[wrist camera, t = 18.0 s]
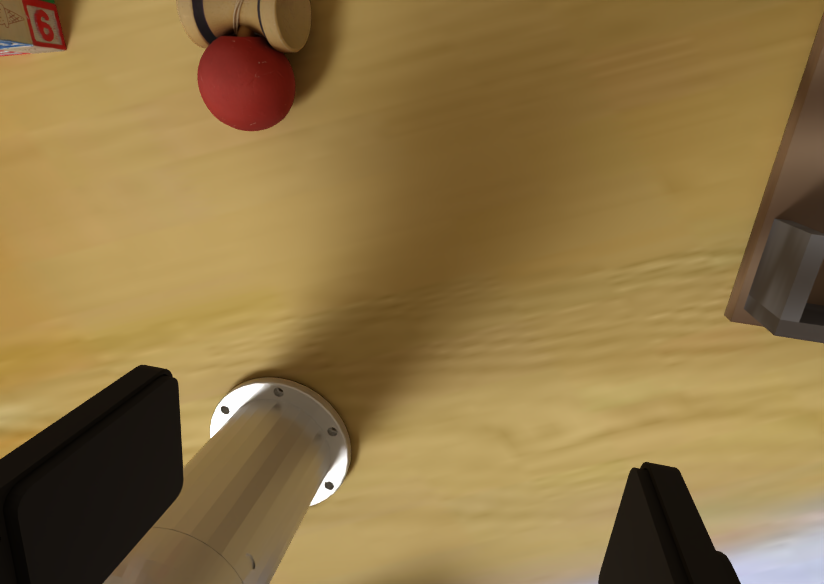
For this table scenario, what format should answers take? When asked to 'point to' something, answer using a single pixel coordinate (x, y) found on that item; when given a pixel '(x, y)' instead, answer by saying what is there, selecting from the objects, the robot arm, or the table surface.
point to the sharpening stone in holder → (790, 225)
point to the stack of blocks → (29, 27)
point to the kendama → (246, 56)
